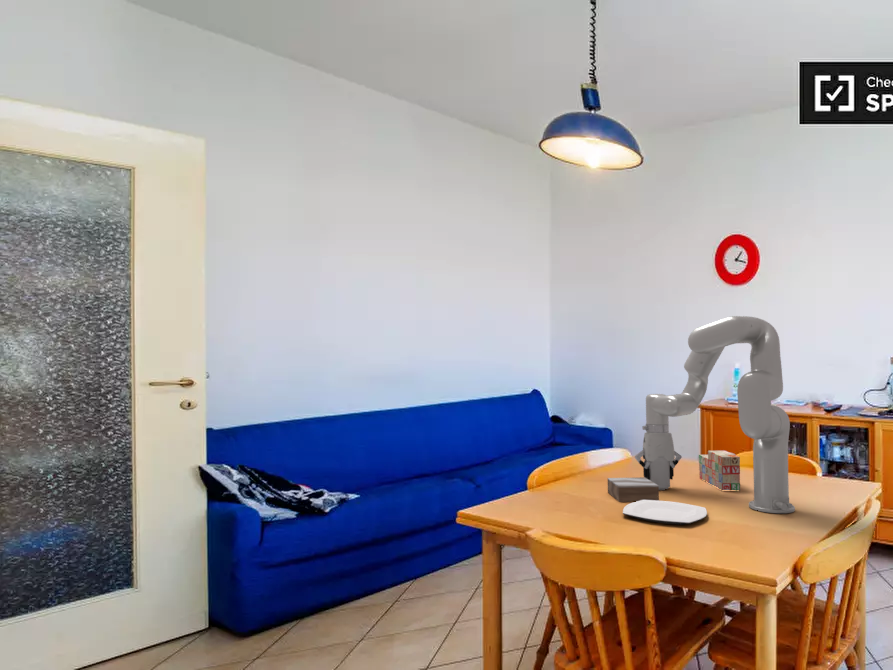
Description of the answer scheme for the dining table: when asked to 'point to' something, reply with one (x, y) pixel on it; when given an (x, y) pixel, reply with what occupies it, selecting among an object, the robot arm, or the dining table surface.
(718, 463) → the stack of blocks
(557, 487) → the dining table surface
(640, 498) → the riser
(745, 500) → the dining table surface
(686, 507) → the plate
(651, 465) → the can
